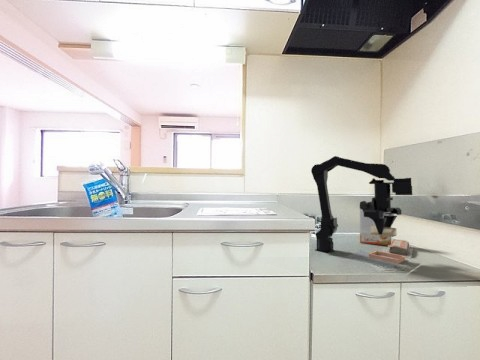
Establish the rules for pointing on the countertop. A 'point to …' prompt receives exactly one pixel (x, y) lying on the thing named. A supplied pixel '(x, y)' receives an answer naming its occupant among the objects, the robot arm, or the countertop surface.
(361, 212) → the cracker box
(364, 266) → the countertop surface
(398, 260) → the frame
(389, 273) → the countertop surface
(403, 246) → the packaged product
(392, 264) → the mat
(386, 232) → the cream rectangular prism
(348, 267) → the countertop surface
